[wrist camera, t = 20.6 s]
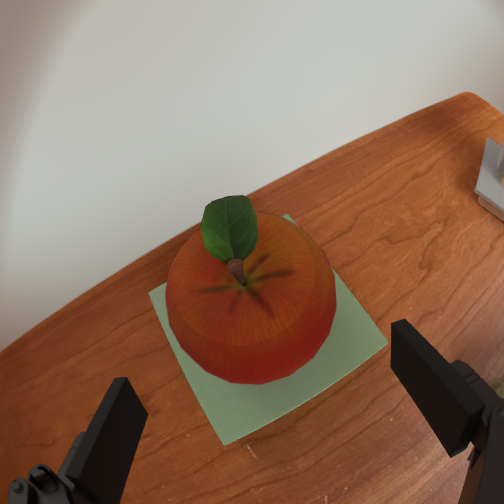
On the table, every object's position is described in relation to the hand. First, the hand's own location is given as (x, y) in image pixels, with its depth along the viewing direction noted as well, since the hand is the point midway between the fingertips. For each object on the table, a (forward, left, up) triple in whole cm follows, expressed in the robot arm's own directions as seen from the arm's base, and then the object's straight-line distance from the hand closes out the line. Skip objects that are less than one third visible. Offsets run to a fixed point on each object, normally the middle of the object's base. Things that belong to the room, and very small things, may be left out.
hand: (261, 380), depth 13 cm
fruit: (0, +5, -6) cm, 7 cm away
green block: (0, +5, -10) cm, 11 cm away
